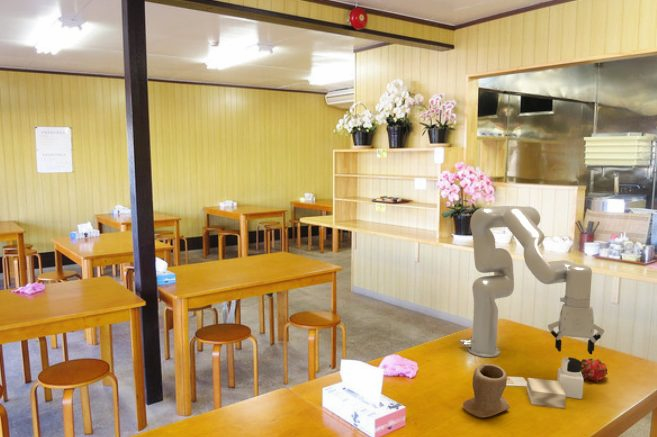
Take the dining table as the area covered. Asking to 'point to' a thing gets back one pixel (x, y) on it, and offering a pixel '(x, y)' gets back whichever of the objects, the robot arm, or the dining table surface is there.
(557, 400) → the base block
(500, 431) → the dining table surface
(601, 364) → the dragon fruit
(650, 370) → the dining table surface
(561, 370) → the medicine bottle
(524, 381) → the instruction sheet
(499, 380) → the stone cup
